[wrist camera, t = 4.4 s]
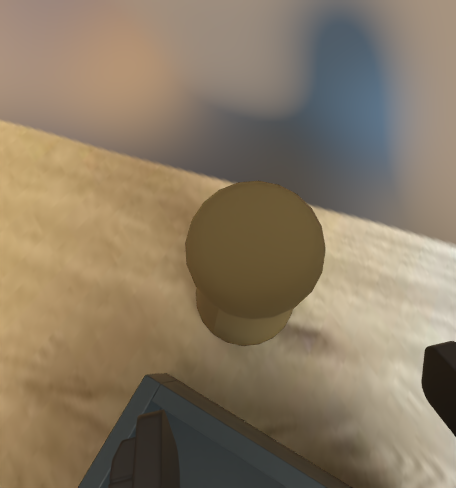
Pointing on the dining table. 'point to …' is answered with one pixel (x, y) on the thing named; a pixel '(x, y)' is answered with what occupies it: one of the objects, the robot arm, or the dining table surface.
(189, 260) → the cork
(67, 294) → the dining table surface
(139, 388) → the bin
